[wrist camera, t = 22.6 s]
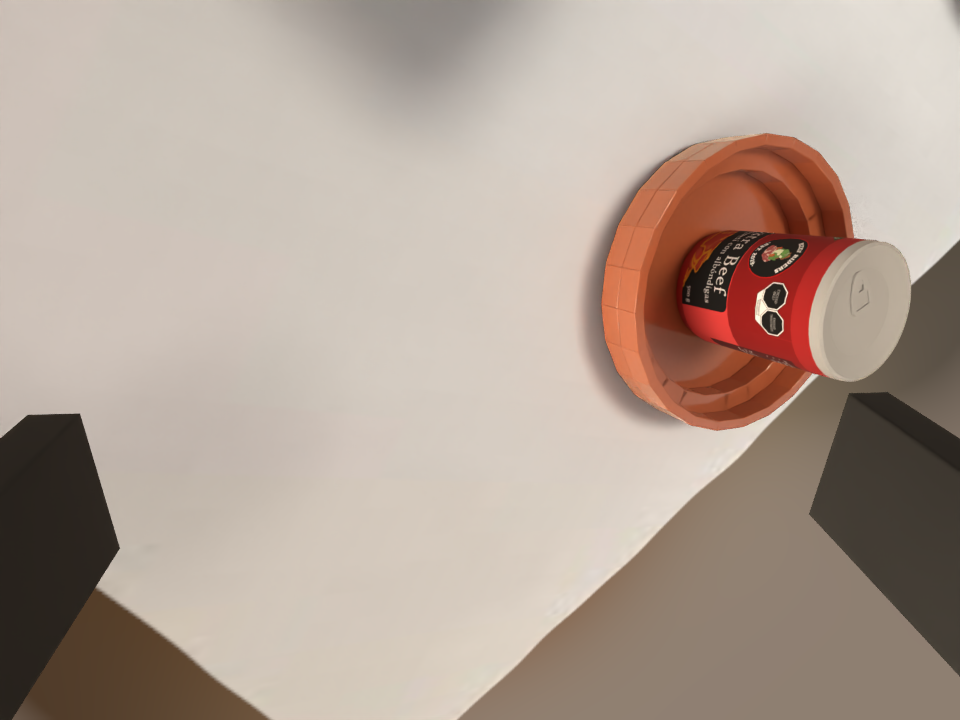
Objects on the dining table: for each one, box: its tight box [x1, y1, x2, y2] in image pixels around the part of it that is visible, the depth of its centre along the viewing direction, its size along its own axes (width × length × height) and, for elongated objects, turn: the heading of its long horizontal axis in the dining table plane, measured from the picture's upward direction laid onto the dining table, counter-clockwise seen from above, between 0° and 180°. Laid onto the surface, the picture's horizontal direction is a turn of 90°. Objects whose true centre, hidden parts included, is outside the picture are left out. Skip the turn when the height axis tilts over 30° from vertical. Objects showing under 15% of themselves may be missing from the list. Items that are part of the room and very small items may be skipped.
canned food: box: [676, 230, 911, 382], centre depth 37 cm, size 8×8×11 cm
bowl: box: [601, 133, 854, 431], centre depth 41 cm, size 19×19×4 cm
